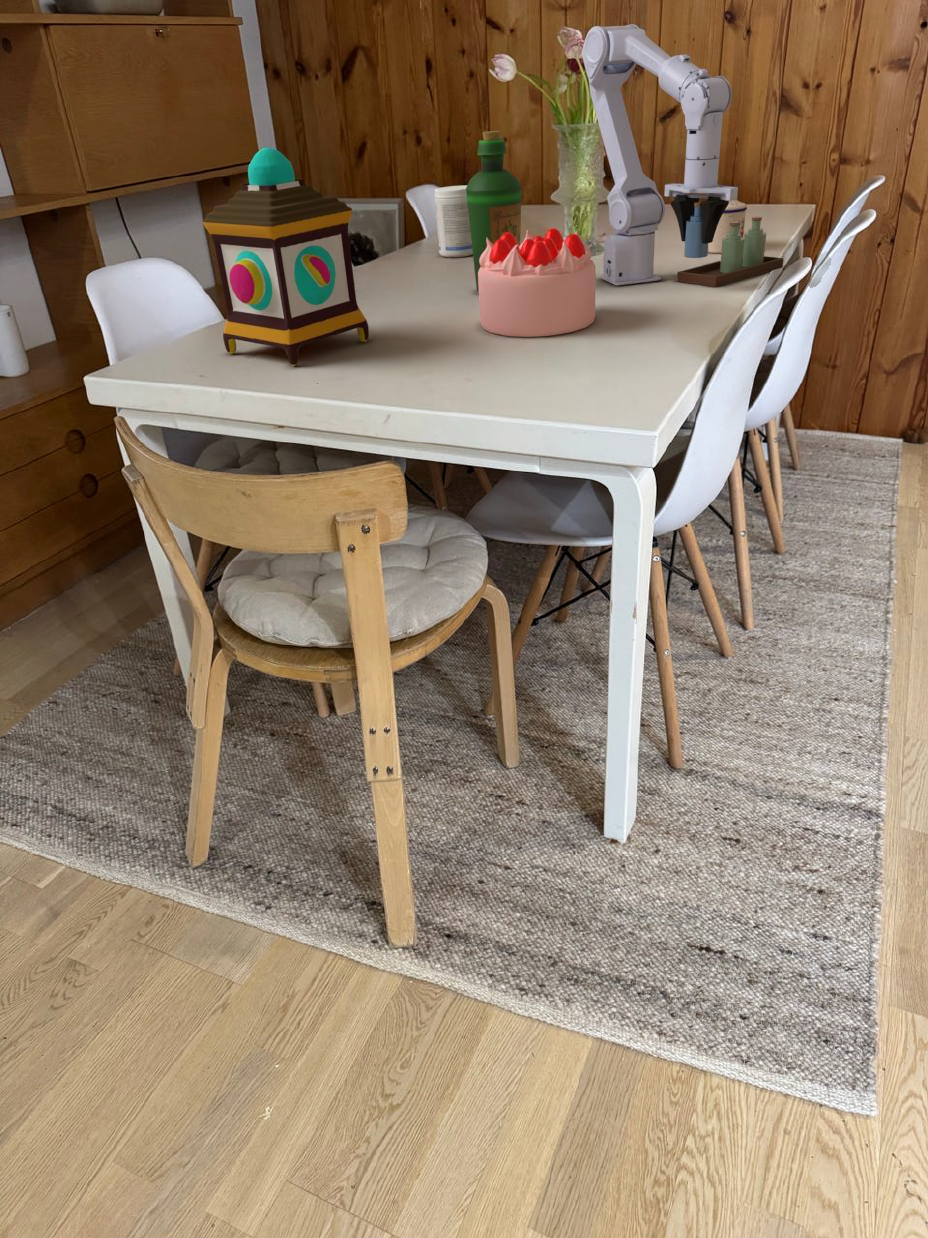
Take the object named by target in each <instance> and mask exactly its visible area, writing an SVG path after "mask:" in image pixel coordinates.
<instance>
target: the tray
mask: <svg viewBox="0 0 928 1238" xmlns="http://www.w3.org/2000/svg"><path fill="white" fill-rule="evenodd" d="M784 260H785V259H784V257H775V256H766V255H764V262H763V263H761V264H758V265H754V266H751V267H743V266H742V269H740V270H736V271H733V272H729V273H721V272H720V262H721V260H717V261H713V262H710V263H706V264H702V265H699V266H695V267H690V268H687V269H683V270H680V271H677V277H676V282H678V283H685V284H692V285H699V286H706V287H712V288H717V287H720V286H723V285H727V284H731V283H734V282H737V281H741V280H744V279H748V278H752V277H756V276H758V275H762V274H765V273H769V272H772V271H775V270H779V269H782V268H783V267H784Z"/></svg>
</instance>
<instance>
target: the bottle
mask: <svg viewBox="0 0 928 1238" xmlns="http://www.w3.org/2000/svg"><path fill="white" fill-rule="evenodd" d="M481 133H482V138H483V139H480V140H478V144H477V145H478V146H477V156H480V163H481V170H479V171H477V172H476V174H474V175H473V176H472V177H471V178H470V179H469V181H468V183H467V187H466V195H467V204H468V213H469V223H470V232H471V241H472V250H473V255H472V258H473V268H474V278H475V284H476V291H477V292H478V293H479V286H478V271H479V269H480V267H481V265H480V262H479V259H480V256H481V255H482V253H483V252H484V251H485V249H486V248H487V242H486V239H487V238H488V240H489V241H490V242H491V243H492V244H493V245H494V243H495V242H496V241H497V240H498V239H500V237H501V235H502V234H503V233H505V232H510V233H512V234H513V236H514V237H515V239H516V241H517V243H518V245H519V246H520V245H521V230H522V229H521V227H522V222H521V221H522V185H521V183H520V181H519V179H518V178H517V176H516V175H515V174H513V173H512V172H510V171H509V170H508V169H505V168H504V159H505V158H504V157H505V154H507V153H508V152H507V147H506V141H505V139H504V138H500V135H501V134H500V133H501V131H500V130H493V131H492V130H490V131H483V132H481Z"/></svg>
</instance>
